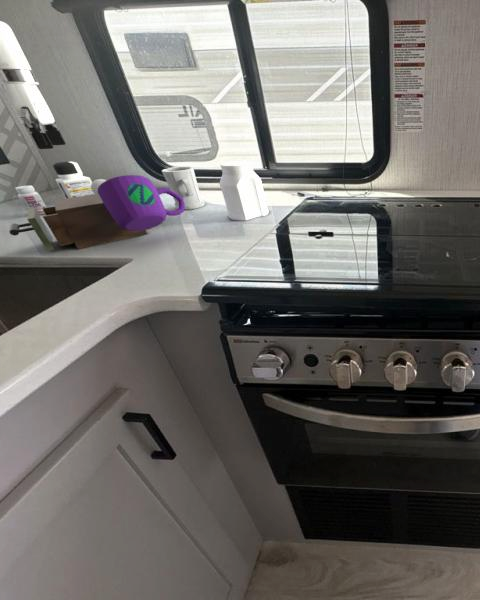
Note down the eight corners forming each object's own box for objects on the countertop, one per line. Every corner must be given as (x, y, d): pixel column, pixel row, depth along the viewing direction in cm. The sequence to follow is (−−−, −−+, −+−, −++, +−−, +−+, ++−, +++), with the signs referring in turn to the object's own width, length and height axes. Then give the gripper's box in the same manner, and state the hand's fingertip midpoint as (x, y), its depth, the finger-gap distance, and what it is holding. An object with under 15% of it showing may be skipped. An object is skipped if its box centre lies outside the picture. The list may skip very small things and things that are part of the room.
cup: (215, 203, 114) (203, 166, 108) (197, 211, 107) (183, 172, 100) (188, 202, 116) (175, 166, 109) (168, 210, 108) (153, 171, 102)
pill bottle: (35, 216, 105) (18, 189, 100) (26, 214, 106) (9, 188, 102) (52, 211, 109) (37, 185, 104) (43, 210, 110) (28, 184, 105)
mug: (124, 215, 74) (101, 174, 73) (112, 236, 81) (91, 199, 80) (200, 208, 88) (182, 173, 87) (185, 227, 95) (168, 195, 94)
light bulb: (118, 207, 112) (104, 176, 106) (128, 209, 109) (114, 178, 104) (99, 212, 107) (82, 180, 102) (109, 214, 105) (93, 182, 100)
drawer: (23, 256, 76) (0, 223, 72) (24, 243, 83) (3, 212, 79) (116, 236, 86) (102, 206, 82) (110, 225, 93) (96, 197, 89)
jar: (237, 222, 96) (222, 168, 88) (224, 215, 102) (208, 164, 94) (273, 213, 103) (262, 162, 95) (259, 207, 109) (247, 158, 101)
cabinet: (77, 249, 81) (55, 210, 76) (74, 236, 89) (53, 200, 84) (147, 233, 90) (131, 198, 85) (138, 223, 97) (123, 189, 92)
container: (74, 204, 116) (53, 165, 109) (66, 201, 120) (45, 163, 113) (100, 199, 121) (82, 161, 114) (92, 196, 125) (73, 159, 118)
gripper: (14, 79, 95) (48, 144, 104) (-19, 76, 82) (23, 151, 91) (47, 79, 98) (78, 142, 107) (20, 76, 84) (58, 149, 94)
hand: (53, 146), depth 99 cm, fingers open, 9 cm apart
